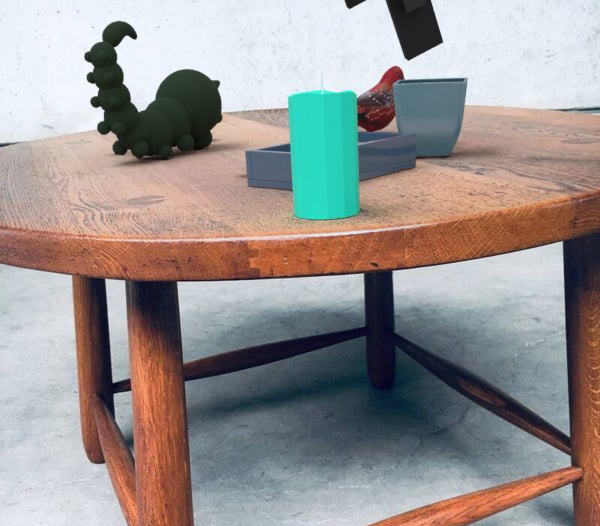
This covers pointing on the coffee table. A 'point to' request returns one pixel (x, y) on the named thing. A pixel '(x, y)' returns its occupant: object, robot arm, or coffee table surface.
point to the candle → (324, 153)
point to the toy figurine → (152, 104)
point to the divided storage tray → (371, 156)
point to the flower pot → (431, 112)
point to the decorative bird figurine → (378, 102)
